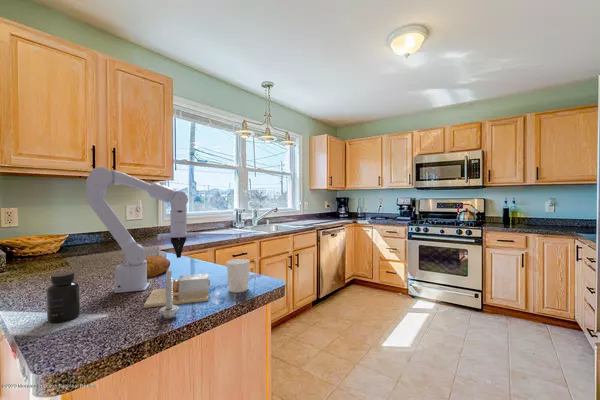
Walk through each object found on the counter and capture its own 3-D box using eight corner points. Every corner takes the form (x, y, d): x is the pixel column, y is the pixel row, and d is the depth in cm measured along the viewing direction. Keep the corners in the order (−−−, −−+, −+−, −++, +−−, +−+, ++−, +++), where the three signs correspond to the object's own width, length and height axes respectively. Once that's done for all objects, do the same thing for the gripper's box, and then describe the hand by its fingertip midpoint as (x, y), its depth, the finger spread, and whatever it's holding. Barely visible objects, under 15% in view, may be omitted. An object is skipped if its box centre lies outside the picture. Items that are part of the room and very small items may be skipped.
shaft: (172, 294, 88) (172, 282, 88) (174, 290, 92) (174, 278, 92) (210, 290, 92) (209, 278, 92) (210, 287, 96) (210, 275, 96)
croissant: (175, 273, 127) (176, 255, 128) (156, 278, 112) (158, 258, 113) (144, 272, 128) (146, 254, 129) (121, 277, 113) (124, 257, 114)
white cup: (253, 287, 100) (253, 259, 100) (242, 294, 93) (242, 264, 93) (234, 285, 103) (234, 258, 103) (222, 291, 95) (222, 262, 95)
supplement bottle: (60, 313, 78) (59, 270, 78) (86, 312, 78) (85, 270, 78) (39, 324, 71) (38, 277, 71) (67, 323, 72) (67, 277, 72)
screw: (173, 320, 73) (155, 320, 73) (182, 313, 78) (165, 312, 78) (173, 271, 73) (155, 271, 73) (181, 266, 78) (164, 266, 78)
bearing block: (143, 307, 82) (143, 287, 82) (153, 292, 95) (153, 275, 95) (208, 300, 87) (208, 281, 87) (208, 287, 100) (208, 270, 100)
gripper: (155, 223, 101) (156, 260, 101) (198, 222, 106) (198, 258, 106) (159, 222, 108) (159, 256, 108) (198, 221, 112) (199, 254, 113)
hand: (178, 257), depth 107 cm, fingers closed
